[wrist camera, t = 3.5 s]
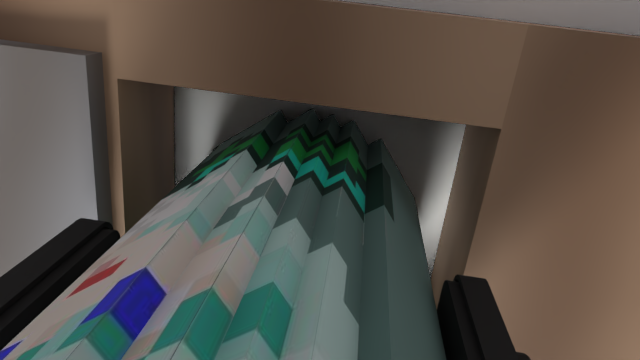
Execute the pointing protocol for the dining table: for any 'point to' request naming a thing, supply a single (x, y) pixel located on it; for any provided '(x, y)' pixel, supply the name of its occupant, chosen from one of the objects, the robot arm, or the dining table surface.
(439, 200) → the dining table surface
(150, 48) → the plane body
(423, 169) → the dining table surface
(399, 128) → the dining table surface
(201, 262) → the can
